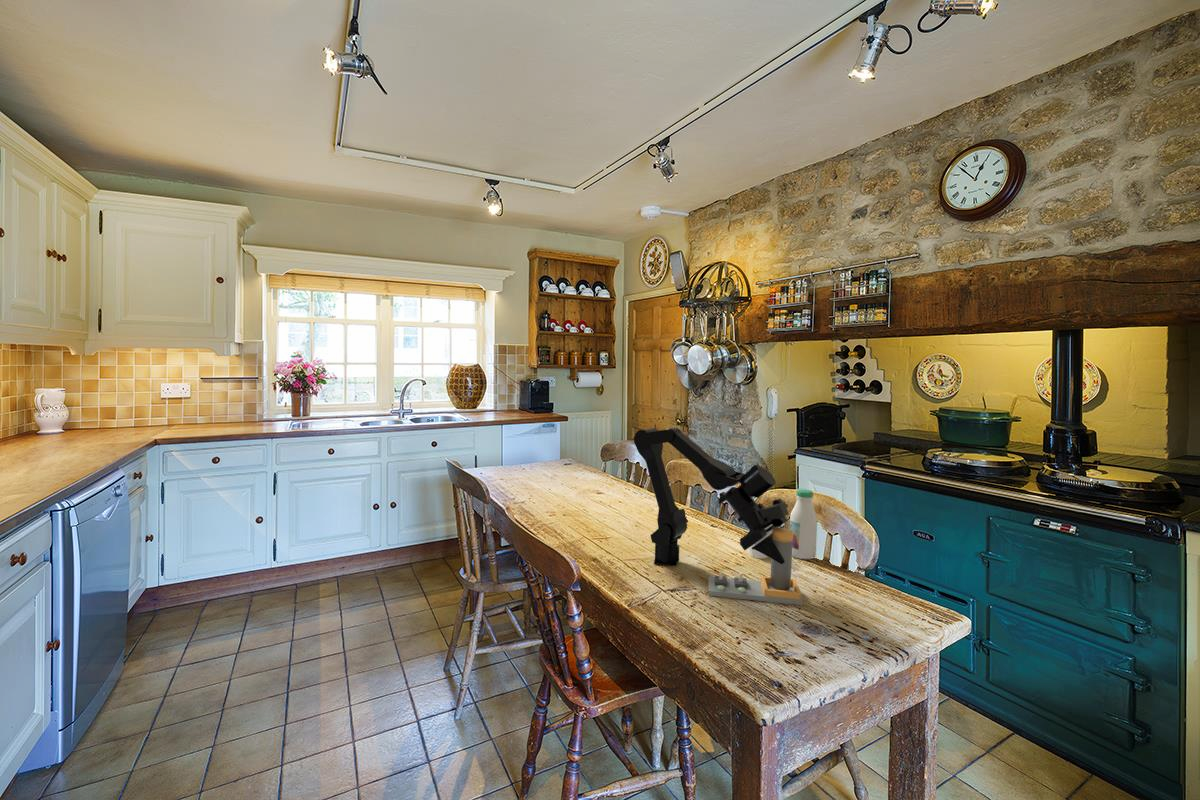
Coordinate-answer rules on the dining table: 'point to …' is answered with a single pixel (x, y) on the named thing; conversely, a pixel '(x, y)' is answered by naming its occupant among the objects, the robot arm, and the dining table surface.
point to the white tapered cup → (755, 552)
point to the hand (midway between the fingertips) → (786, 560)
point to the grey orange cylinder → (782, 572)
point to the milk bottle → (804, 526)
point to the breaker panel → (753, 589)
